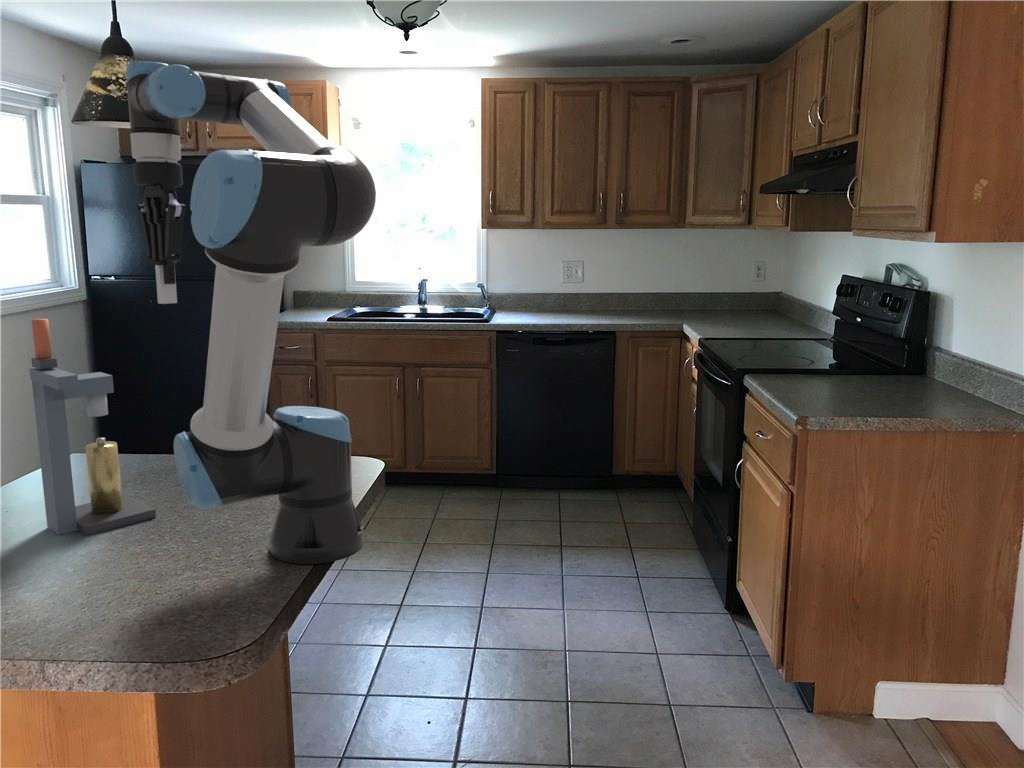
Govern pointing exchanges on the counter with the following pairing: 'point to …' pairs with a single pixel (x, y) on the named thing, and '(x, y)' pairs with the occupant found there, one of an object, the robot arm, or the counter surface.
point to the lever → (42, 345)
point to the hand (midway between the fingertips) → (167, 303)
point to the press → (56, 454)
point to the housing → (104, 477)
